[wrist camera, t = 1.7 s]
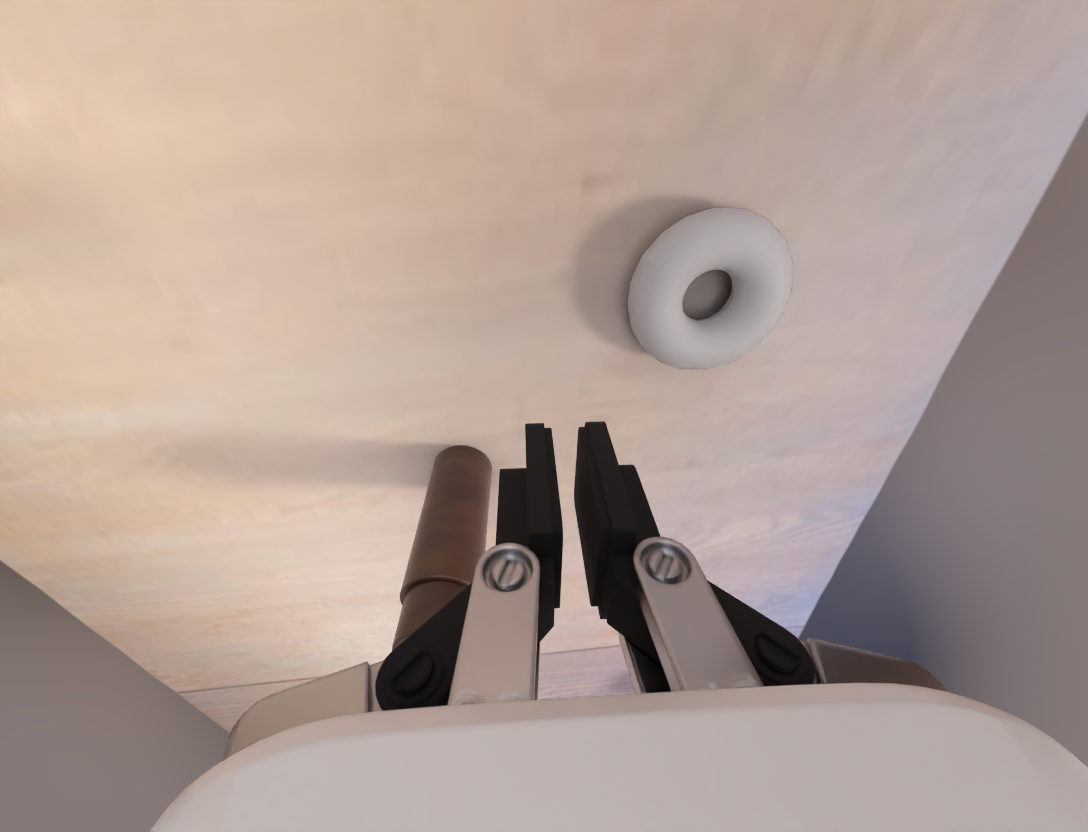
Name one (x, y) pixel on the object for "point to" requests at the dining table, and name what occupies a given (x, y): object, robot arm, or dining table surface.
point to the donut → (695, 249)
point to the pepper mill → (446, 537)
